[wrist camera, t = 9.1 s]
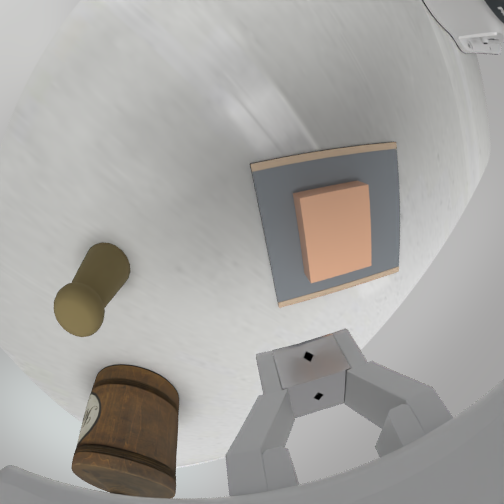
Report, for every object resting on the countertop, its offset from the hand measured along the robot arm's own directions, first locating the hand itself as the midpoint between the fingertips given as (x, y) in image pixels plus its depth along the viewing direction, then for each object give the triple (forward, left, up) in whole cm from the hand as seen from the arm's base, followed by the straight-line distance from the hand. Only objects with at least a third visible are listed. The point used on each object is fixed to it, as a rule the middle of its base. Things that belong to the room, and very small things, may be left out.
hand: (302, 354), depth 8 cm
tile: (-6, +6, -21) cm, 22 cm away
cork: (+17, +4, -23) cm, 29 cm away
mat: (-11, +6, -23) cm, 26 cm away
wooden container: (+24, +27, -23) cm, 43 cm away
